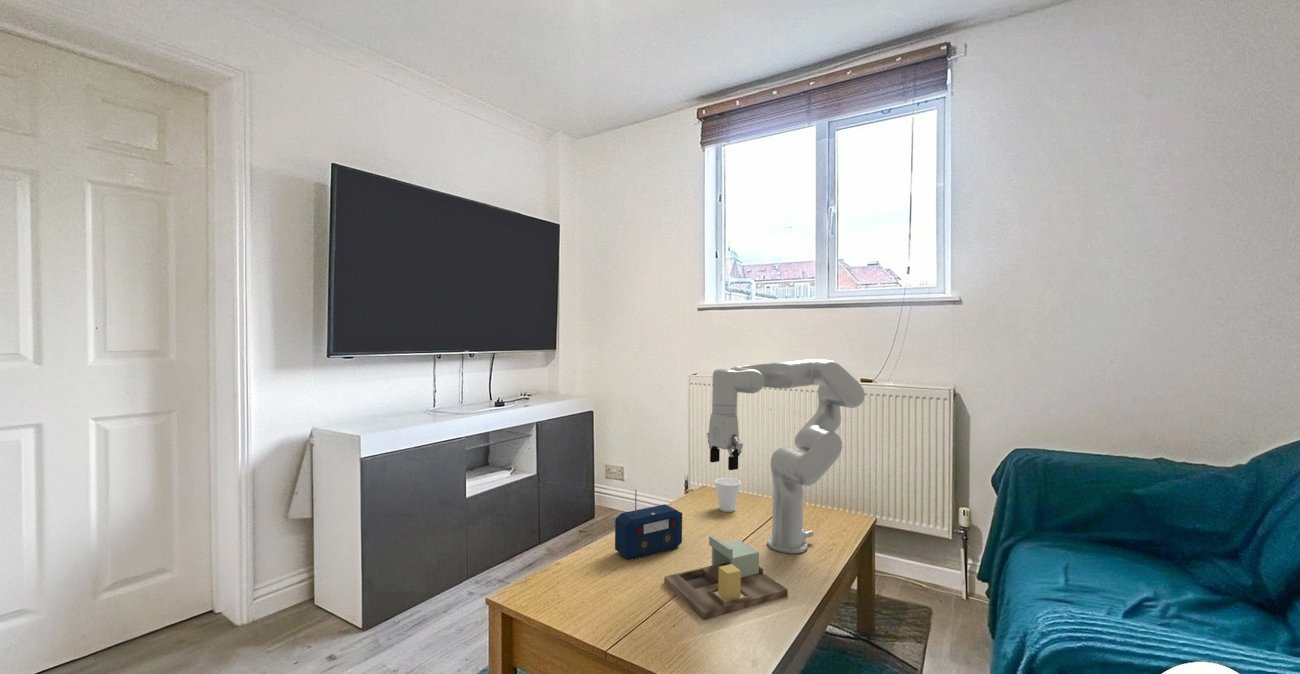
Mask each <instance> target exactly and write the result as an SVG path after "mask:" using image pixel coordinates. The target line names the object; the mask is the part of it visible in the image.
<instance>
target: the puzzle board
mask: <svg viewBox="0 0 1300 674" xmlns="http://www.w3.org/2000/svg"><path fill="white" fill-rule="evenodd" d="M730 564H731V562H727V563H723V564H718V565H714V566H713V565H712V564H711V565H708V566H705V567H704V566H703V567H700V568H695V569H690V570H687V571H682V572H679V573H675V574H670V575H666V576H665V575H664V577H663V578H664V579H663V582H664V585H665V586H667V588H669V589H670V590H671V591H672V592H673V593H674V594H675V595H676V596H677V597H678V598H680V600H681V601H683V602H684V604H686V605H687V606H688V607H689V608H690V609H691V610H692V611H693V612H694V613H696V615H698V617H699V618H701V620H703V621H706V620H711V619H713V618H716V617H717V618H718V617H720V616H724V615H727V614H731V613H734V612H737V611H741V610H745V609H748V608H752V607H754V606H755V607H757V606H758V605H763V604H765V603H766V604H767V603H769V602H773V601H776V600H779V599H783V598H787V597H788V592H789V591H788V590H789V589H788V588H786V587H785V586H784V585H782V584H780V582H777V581H776V580H774V579H773V578H771V577H770V576H769V575H767V574H765V573H764V568H763V567H761V566H760V565H759V573H757V574H753V575H749V576H745V577H741V590H740V597H739V598H735V599H732V600H728V601H727V600H726V599H725V598H723V597H722V596H721V595H720V594H719V593H718V579H719V567H721V566H725V565H730Z"/></svg>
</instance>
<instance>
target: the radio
mask: <svg viewBox="0 0 1300 674" xmlns="http://www.w3.org/2000/svg"><path fill="white" fill-rule="evenodd" d="M637 493H638V492H637V488H636V489H635V498H634V504H635V505H634V510H629V511H626V512H622V513H620V514H619V515H618V516H616V517H615V519H614V523H615V524H614V550H615V551H616V552H617V553H619V554H620V555H622V556H623V557H624V558H626V559H628V560H631V559H633V560H636V559H635V558H637V559H640V558H643V557H647V556H653V555H655V554H659V553H662V552H667V551H671V550H675V549H677V548H678V547H679V546H680V545H681V544H682V543H683V512H681V511H679V510H678V509H675V508H673V507H672V506H670V505H667V504H659V505H655V506H651V507H650V506H649V507H644V508H640V509H637ZM639 557H640V558H639Z"/></svg>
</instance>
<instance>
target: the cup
mask: <svg viewBox="0 0 1300 674" xmlns="http://www.w3.org/2000/svg"><path fill="white" fill-rule="evenodd" d="M714 483H715V486H716V493H717V498H718V499H717V501H718V507H719V510H721V511H722V512H724V513H732V512H735V511H736V509H737V503H738V498H739V492H740V486H741V483H742V482H741V480H739V479H737V478H731V477H720V478H719V477H718V478H716V479H715V480H714Z"/></svg>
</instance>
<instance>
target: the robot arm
mask: <svg viewBox="0 0 1300 674" xmlns="http://www.w3.org/2000/svg"><path fill="white" fill-rule="evenodd" d="M808 386H818V388H817V399H818V407H817V410H816V412H815V414H813V416H812V417H811V418H810V419H809V420H808V421H807V423H805V425H803V426H802V427H801V429H800V430H799V431H798V432H797V434H796V435H795V437H794V445H795V448H797V449H798V450H797V449H794V448H791V447H779V448H777V449H776V450H775V451H774V452H773V453H772V455H771V458H770V470H771V471H770V472H771V477H772V521H771V522H772V523H771V524H772V525H771V526H772V530H771V531H772V532H771V536H769V537H768V538H767V542H766V543H767V546H768V547H769V548H770V549H772V550H774V551H776V552H779V553H785V554H800V553H804V552H805V550H806V549H807V550H808V543H807V541H806V539H808V538H812V537H813V536H814V535H815V534H814V532H813V530H807V531H805V530H804V528H803V527H804V487H810V486H812V485H815V484H816V483H817V482H819V480H820V479H822V477H823V476H824V475H825V474H826V473H827V472H828V470H829V469H831V467H832V466H833V465H834V463H836V461H837V460H838V459H839V457H840V456H841V453H842V449H843V441H842V439H841V437H840V436H839V434H838V433H836V432H837V431H838V429H839V427H840V426H841V421H842V416H841V407H843V408H849V409H854V408H855V409H856V408H857V407H859V406H861V405H862V404H863V402H864V401H865V398H866V397H865V389H864V387H863V386H862V385H861V383H860V382H859V380H857V379H856V378H855V377H854V376H853V375H851V374H850V373H849V372H848V371H847V370H846V369H845V367H843V366H842V365H840V364H839V363H838V362H836V361H834V360H831V359H830V360H829V359H819V358H808V359H802V360H801V359H800V360H792V361H782V362H771V363H770V362H769V363H758V364H747V365H739V366H733V367H731V368H730V369H727V368H718V369H715V370H713V373H712V396H711V397H712V398H711V399H712V400H711V403H712V407H711V413H710V417H709V425H708V432H707V433H706V436H707V443H708V448H709V462H710V463H717V462H720V451H721V450H720V449H722V450H727V452H728V455H729V456H728V461H727V462H728V463H727V464H728V465H727V466H728V468H727V469H728V470H729V471H734V470H739V457H740V454H741V453H742V449H743V447H744V444H743V442H742V441H741V440H740V439H739V437H740V436H739V421H738V416H737V415H738V393H743V394H757V393H758V392H760V391H762V389H763V388H770V389H771V388H772V389H784V390H785V389H793V388H798V387H799V388H801V387H808ZM803 486H804V487H803ZM807 550H806V551H807Z"/></svg>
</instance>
